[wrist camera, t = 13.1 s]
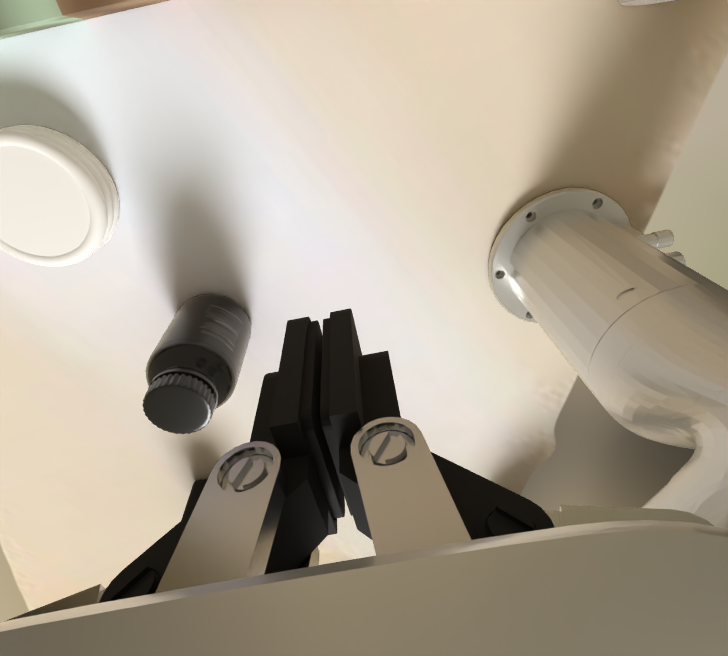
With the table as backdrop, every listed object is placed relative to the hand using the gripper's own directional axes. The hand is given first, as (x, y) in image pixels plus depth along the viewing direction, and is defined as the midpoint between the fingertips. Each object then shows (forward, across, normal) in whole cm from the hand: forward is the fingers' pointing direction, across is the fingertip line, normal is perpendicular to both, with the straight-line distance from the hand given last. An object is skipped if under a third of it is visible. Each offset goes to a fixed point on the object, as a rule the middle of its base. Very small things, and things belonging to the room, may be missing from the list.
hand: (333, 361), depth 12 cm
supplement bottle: (+27, +14, +12) cm, 33 cm away
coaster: (+28, +22, -2) cm, 35 cm away
